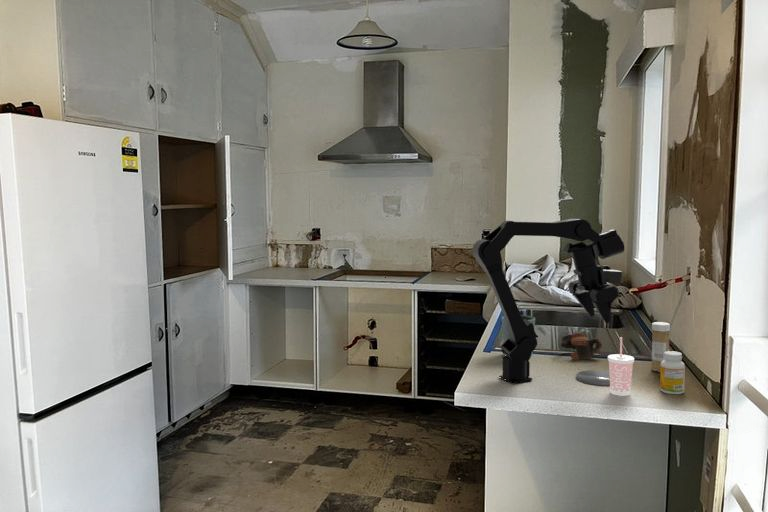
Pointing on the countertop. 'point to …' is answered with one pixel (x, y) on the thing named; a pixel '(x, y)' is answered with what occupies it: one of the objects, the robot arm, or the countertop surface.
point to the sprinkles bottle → (659, 343)
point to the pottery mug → (581, 345)
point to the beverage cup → (620, 373)
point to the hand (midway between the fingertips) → (600, 319)
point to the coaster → (594, 377)
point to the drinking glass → (504, 325)
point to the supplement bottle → (672, 373)
